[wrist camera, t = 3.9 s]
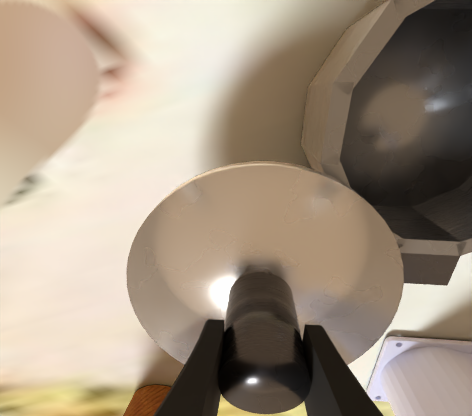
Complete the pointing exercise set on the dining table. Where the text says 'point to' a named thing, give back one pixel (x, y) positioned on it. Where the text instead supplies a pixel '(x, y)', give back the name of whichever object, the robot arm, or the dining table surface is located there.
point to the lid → (265, 274)
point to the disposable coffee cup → (147, 400)
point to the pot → (402, 126)
